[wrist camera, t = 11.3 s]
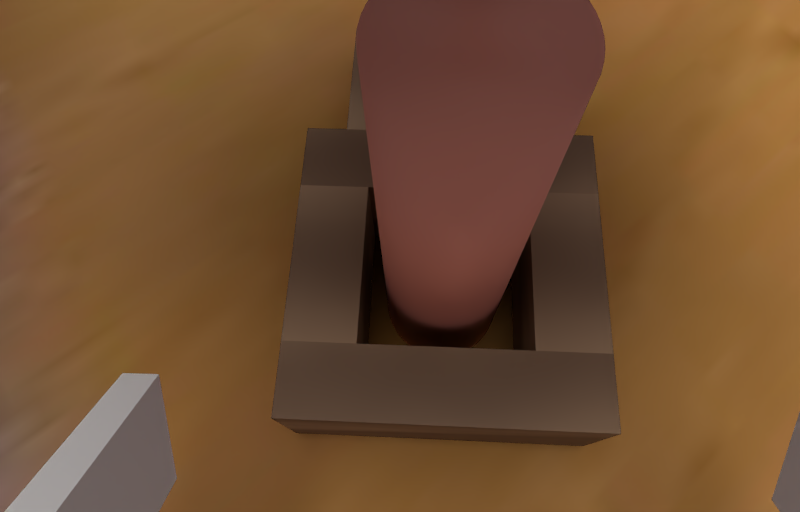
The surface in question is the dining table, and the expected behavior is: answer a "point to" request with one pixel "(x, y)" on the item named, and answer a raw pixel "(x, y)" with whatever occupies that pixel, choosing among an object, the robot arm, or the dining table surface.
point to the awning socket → (444, 366)
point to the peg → (467, 144)
